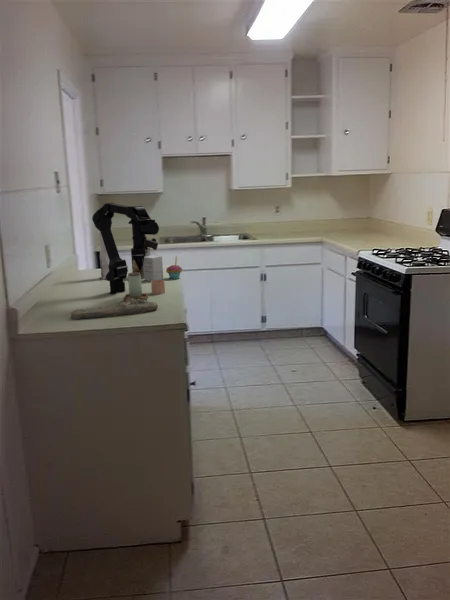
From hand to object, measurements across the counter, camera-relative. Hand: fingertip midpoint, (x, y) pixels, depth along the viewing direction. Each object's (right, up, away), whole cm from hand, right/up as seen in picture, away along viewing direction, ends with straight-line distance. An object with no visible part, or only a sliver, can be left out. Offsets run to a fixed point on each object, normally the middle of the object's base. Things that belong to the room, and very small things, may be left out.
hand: (141, 268), depth 260 cm
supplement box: (0, -4, +44) cm, 44 cm away
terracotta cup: (+7, -12, +7) cm, 15 cm away
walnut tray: (-1, -14, -5) cm, 15 cm away
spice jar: (-2, -14, -5) cm, 15 cm away
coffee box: (-7, -2, +54) cm, 55 cm away
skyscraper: (-26, -3, +54) cm, 60 cm away
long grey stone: (-6, -21, -29) cm, 36 cm away
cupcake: (+11, -3, +47) cm, 48 cm away
